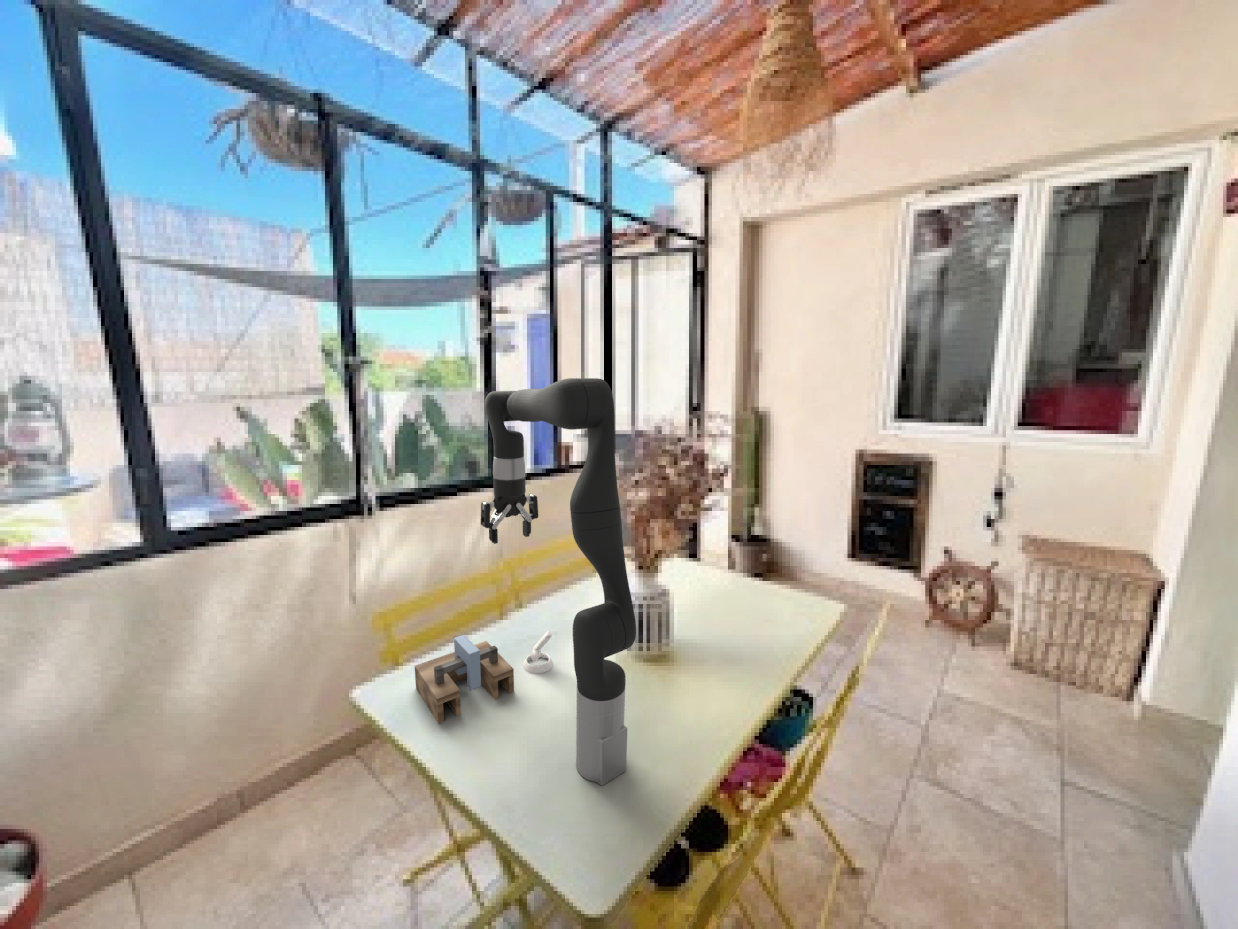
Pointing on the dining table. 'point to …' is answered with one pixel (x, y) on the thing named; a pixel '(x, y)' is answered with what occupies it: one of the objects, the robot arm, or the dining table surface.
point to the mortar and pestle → (538, 654)
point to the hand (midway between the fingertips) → (510, 539)
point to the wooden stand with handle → (441, 677)
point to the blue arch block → (468, 660)
